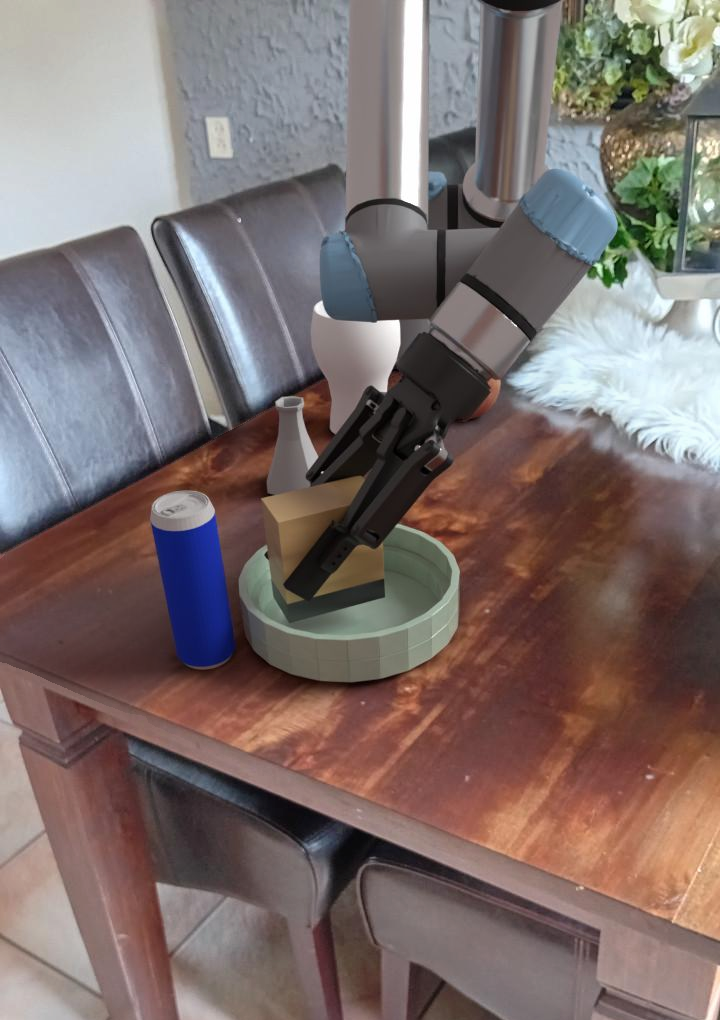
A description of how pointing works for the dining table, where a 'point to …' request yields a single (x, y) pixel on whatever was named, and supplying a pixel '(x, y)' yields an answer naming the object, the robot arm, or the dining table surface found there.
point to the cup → (352, 358)
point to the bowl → (361, 616)
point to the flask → (290, 449)
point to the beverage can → (193, 578)
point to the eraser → (295, 532)
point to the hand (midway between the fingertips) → (286, 577)
